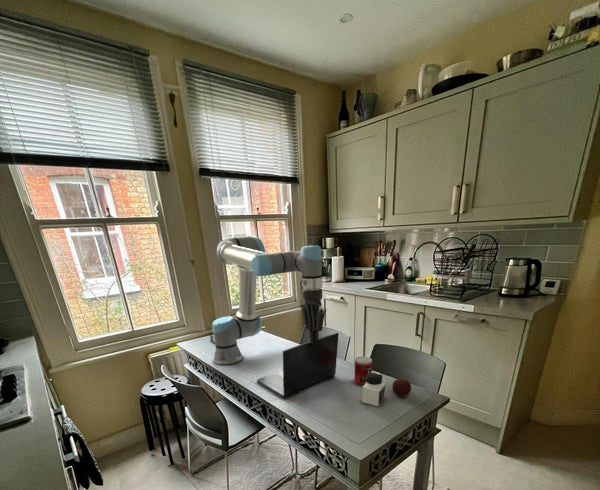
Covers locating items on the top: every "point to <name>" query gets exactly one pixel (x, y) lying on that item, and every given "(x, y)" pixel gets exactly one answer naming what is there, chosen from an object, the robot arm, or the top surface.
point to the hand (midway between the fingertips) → (314, 346)
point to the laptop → (280, 384)
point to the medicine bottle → (373, 389)
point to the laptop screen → (309, 363)
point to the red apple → (401, 387)
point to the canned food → (362, 369)
